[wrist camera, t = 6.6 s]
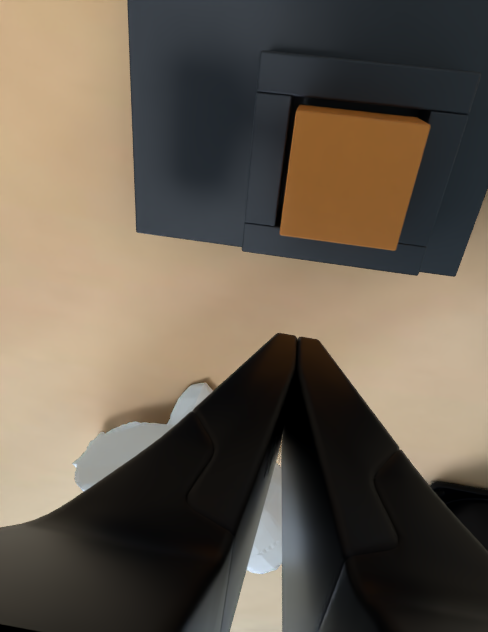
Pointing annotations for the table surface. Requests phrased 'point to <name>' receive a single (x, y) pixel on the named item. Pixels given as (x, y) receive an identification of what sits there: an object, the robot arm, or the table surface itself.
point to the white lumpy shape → (136, 437)
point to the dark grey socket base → (280, 108)
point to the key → (351, 175)
